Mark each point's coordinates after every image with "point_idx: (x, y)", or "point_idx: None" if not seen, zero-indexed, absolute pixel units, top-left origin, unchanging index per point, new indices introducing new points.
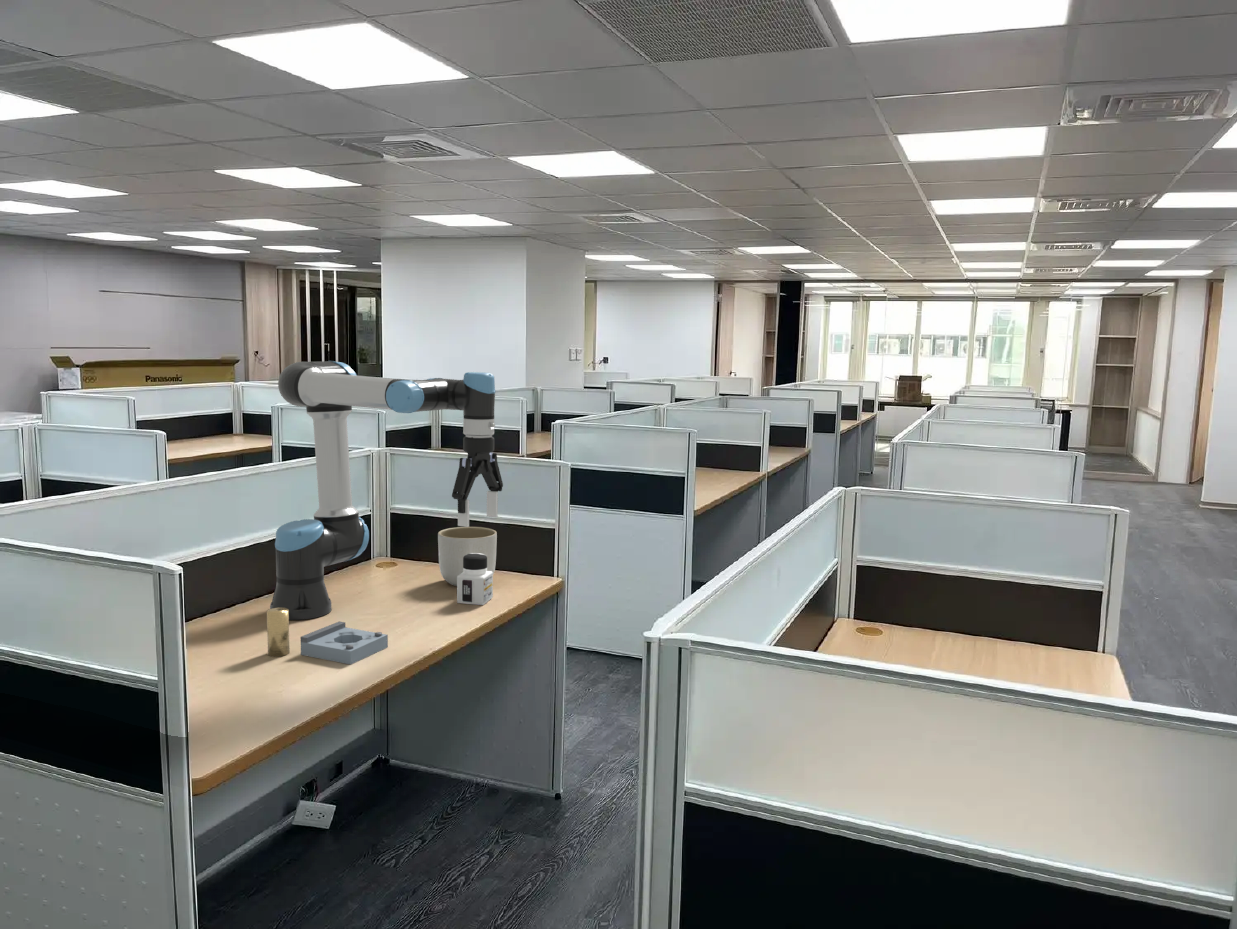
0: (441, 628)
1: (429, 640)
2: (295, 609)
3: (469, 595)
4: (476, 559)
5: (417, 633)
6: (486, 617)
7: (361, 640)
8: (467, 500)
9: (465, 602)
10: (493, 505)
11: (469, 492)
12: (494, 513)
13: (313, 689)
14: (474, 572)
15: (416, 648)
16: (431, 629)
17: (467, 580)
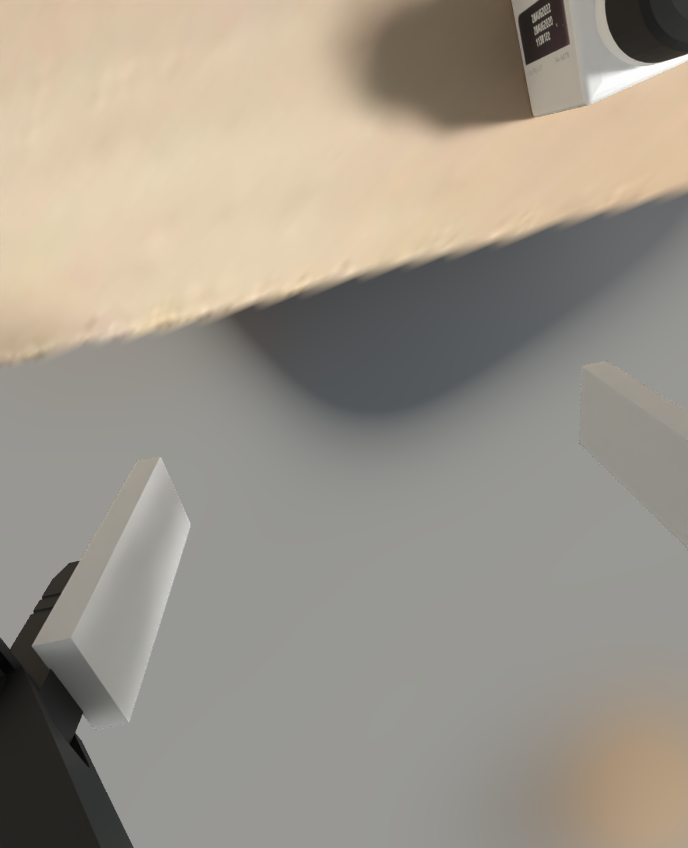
0: (237, 201)
1: (131, 263)
2: None
3: (535, 46)
4: (653, 26)
5: (144, 173)
6: (419, 236)
7: None
8: (93, 726)
9: (519, 33)
10: (639, 474)
11: (111, 810)
12: (595, 447)
13: None
14: (604, 36)
15: (57, 288)
16: (206, 180)
17: (564, 17)
